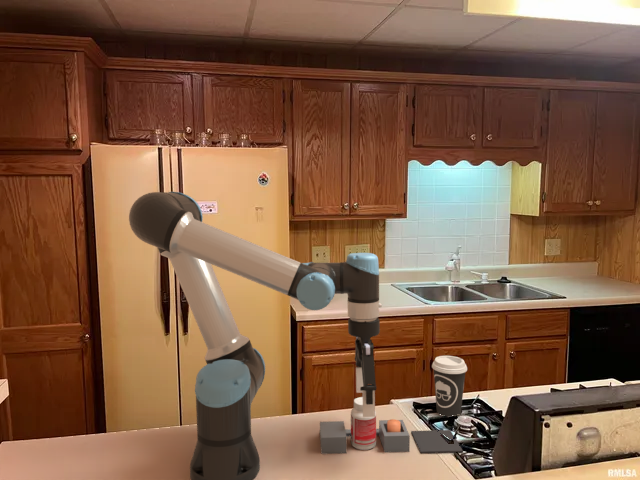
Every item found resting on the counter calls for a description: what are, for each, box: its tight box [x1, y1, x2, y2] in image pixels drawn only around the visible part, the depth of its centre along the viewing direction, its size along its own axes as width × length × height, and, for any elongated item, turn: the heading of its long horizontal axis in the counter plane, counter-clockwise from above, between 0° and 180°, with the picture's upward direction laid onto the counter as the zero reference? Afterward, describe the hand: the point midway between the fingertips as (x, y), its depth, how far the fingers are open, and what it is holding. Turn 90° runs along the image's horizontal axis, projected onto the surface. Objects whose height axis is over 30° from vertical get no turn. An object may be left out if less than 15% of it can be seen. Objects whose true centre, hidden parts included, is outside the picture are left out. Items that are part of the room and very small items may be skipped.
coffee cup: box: [431, 355, 468, 416], centre depth 134 cm, size 10×10×15 cm
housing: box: [319, 419, 411, 455], centre depth 118 cm, size 21×10×4 cm, turn 92°
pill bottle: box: [350, 396, 377, 451], centre depth 117 cm, size 6×6×11 cm
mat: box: [410, 429, 464, 455], centre depth 118 cm, size 10×10×1 cm
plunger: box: [387, 418, 401, 432], centre depth 117 cm, size 3×3×5 cm
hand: (365, 403), depth 116 cm, fingers open, 13 cm apart
